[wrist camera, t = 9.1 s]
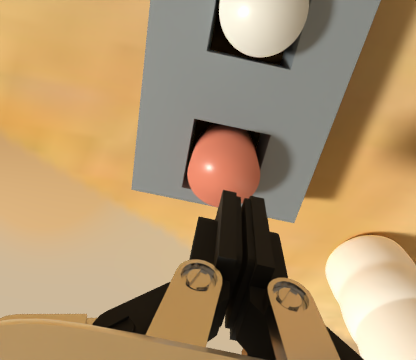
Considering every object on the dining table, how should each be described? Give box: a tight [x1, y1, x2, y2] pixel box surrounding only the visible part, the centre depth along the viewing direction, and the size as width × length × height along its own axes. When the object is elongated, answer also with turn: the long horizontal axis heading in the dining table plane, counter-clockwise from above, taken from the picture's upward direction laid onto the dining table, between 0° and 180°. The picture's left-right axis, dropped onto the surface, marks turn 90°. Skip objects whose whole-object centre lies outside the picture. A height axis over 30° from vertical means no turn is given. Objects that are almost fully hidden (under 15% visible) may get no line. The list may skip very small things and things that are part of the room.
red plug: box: [187, 123, 260, 207], centre depth 20 cm, size 4×4×4 cm
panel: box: [132, 0, 381, 223], centre depth 20 cm, size 12×16×4 cm
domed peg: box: [219, 0, 309, 57], centre depth 17 cm, size 4×4×4 cm
